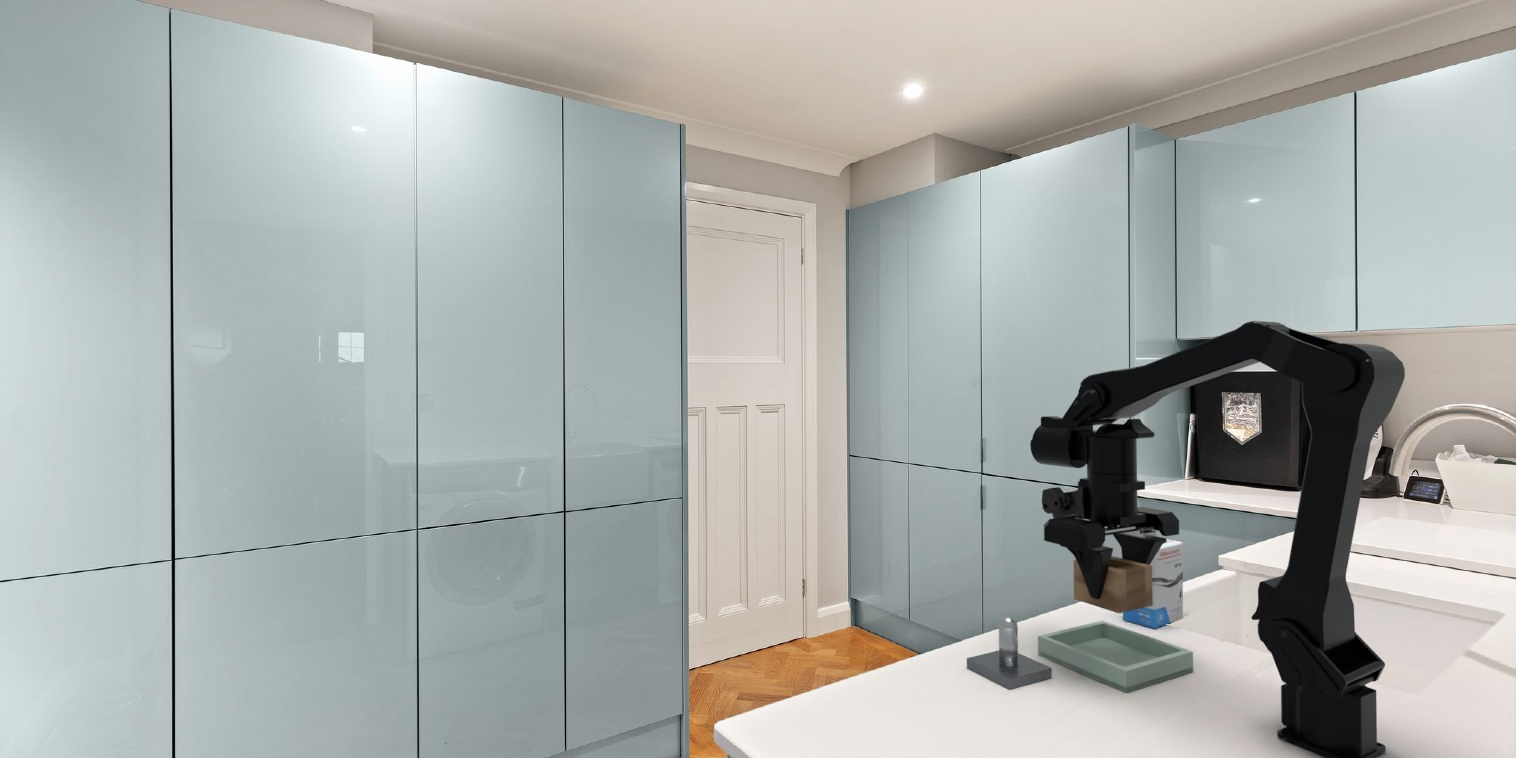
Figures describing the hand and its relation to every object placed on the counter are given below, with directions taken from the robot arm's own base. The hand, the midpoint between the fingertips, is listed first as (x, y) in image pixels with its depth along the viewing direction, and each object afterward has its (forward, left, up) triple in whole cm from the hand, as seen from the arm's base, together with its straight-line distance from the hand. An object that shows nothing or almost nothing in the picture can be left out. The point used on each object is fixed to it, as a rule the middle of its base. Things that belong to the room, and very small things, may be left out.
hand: (1113, 594), depth 89 cm
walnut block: (0, 0, -1) cm, 1 cm away
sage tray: (0, 0, -9) cm, 9 cm away
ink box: (+8, -20, -9) cm, 23 cm away
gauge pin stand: (+4, +14, -9) cm, 17 cm away
